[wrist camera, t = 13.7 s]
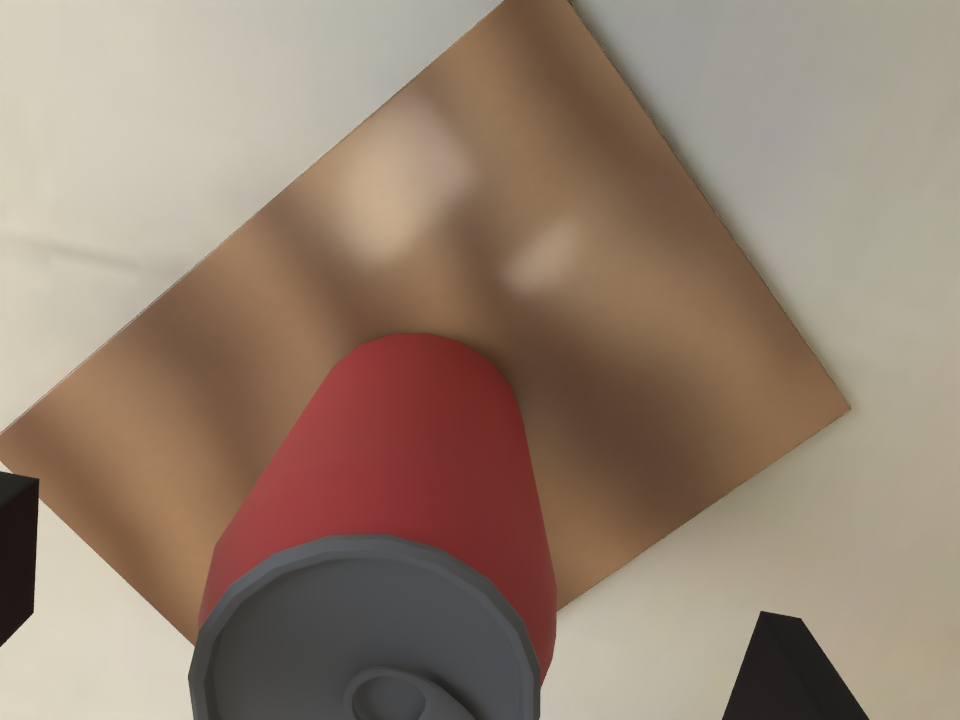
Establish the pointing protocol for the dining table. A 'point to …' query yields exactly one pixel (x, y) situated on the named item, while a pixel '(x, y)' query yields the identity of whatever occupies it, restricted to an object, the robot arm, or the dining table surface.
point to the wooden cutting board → (450, 321)
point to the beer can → (385, 554)
